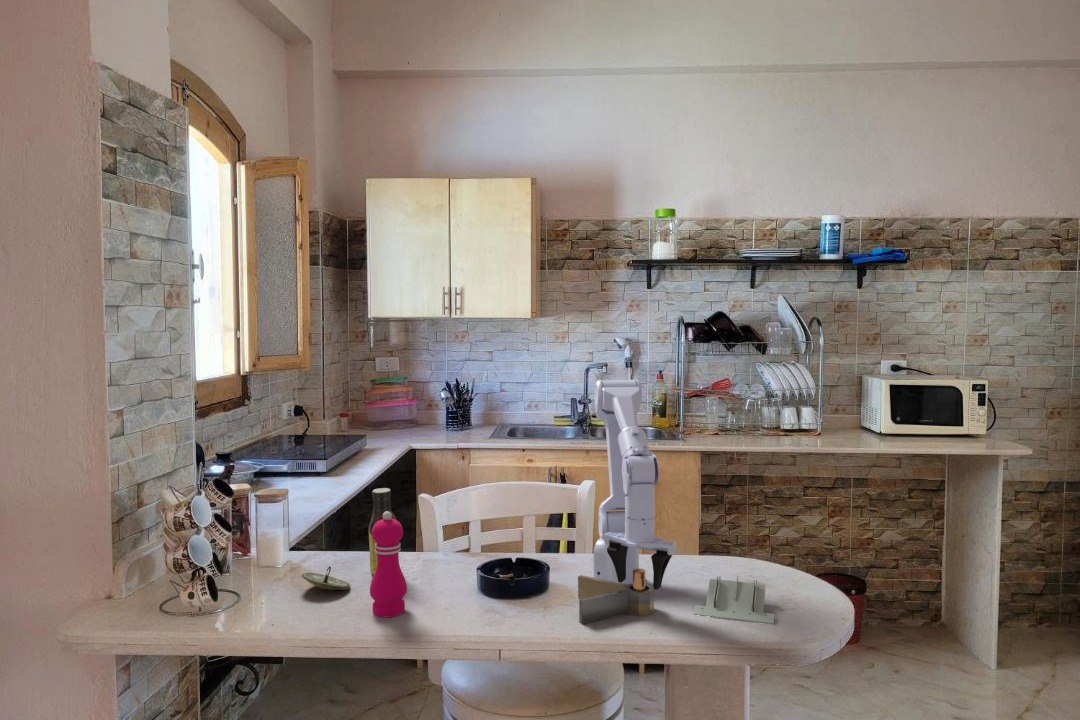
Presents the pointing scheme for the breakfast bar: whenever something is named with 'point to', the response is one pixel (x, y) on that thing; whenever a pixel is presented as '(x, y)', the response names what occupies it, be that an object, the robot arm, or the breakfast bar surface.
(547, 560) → the breakfast bar surface
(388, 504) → the sauce bottle
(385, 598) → the pepper mill
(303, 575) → the lid
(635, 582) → the hinge pin
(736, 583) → the metal bracket
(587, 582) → the hinge
